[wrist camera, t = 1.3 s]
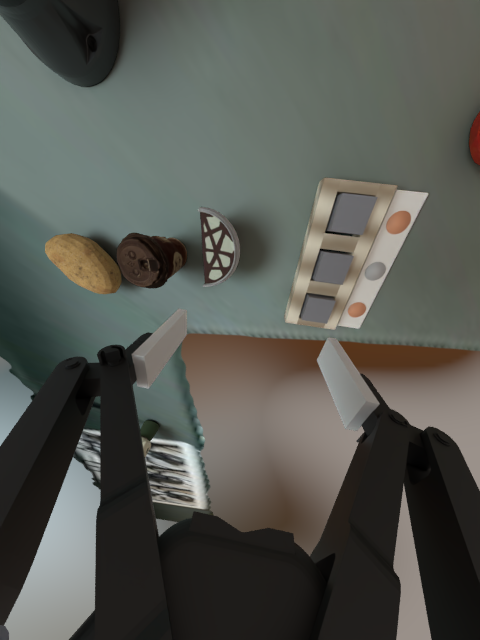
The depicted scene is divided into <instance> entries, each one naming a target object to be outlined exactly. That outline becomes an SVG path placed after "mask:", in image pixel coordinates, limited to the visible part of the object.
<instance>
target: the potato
mask: <svg viewBox="0 0 480 640" xmlns="http://www.w3.org/2000/svg"><path fill="white" fill-rule="evenodd" d="M45 252H46V254H47V256H48V257H49V259H50V260H51V261H52V262H53V263H54V264H55V265H56V266H57V267H58V268H59V269H60V270H61V271H62V272H63V273H64V274H65V275H66V276H67V277H68V278H69V279H70V280H72V281H73V282H75V283H76V284H78V285H79V286H82V287H84V288H86V289H88V290H90V291H92V292H95V293H99V294H109V293H115V292H116V291H117V290H118V289H119V287H120V284H121V271H120V269H119V267H118V265H117V264H116V263H115V261H114V260H113V259H112V258H111V257H110V256H109V255H108V254H107V253H106V252H105V251H104V250H103V249H102V248H101V247H100V246H99V245H98V244H97V243H96V242H94V241H92V240H91V239H89V238H86V237H83V236H80V235H76V234H72V233H71V234H63V235H56V236H54V237H53V238H52V239H50V240H49V241H48V242H47V243H46V246H45Z"/></svg>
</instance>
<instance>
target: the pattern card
mask: <svg viewBox="0 0 480 640" xmlns="http://www.w3.org/2000/svg"><path fill="white" fill-rule="evenodd" d="M428 194H429V193H422V192H413V191H404V190H395V193H394V195H393V197H392V200H391V202H390V204H389V207H388V209H387V211H386V213H385V216H384V218H383V220H382V223H381V225H380V227H379V230H378V232H377V234H376V236H375V239H374V241H373V243H372V246H371V248H370V250H369V253H368V255H367V257H366V259H365V262H364V264H363V266H362V269H361V271H360V273H359V276H358V278H357V280H356V282H355V285H354V287H353V289H352V292H351V294H350V296H349V298H348V301H347V303H346V305H345V308H344V310H343V312H342V315H341V317H340V319H339V321H338V324H337V325H338V326H344V327H351V328H358V329H359V328H360V326H361V324H362V322H363V320H364V319H365V317H366V315H367V313H368V311H369V309H370V307H371V305H372V303H373V301H374V299H375V297H376V295H377V293H378V291H379V289H380V287H381V285H382V283H383V281H384V279H385V278H386V276H387V274H388V272H389V270H390V268H391V266H392V264H393V262H394V260H395V258H396V256H397V254H398V252H399V250H400V248H401V246H402V244H403V242H404V240H405V238H406V237H407V235H408V233H409V231H410V229H411V227H412V225H413V223H414V221H415V219H416V217H417V215H418V213H419V211H420V209H421V207H422V205H423V203H424V201H425V199H426V197H427V196H428Z"/></svg>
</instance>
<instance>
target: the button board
mask: <svg viewBox="0 0 480 640" xmlns="http://www.w3.org/2000/svg"><path fill="white" fill-rule="evenodd" d="M396 188H397V186H396V185H387V184H378V183H369V182H360V181H351V180H342V179H333V178H324V179H322V180H321V181H320V182H319V185H318V189H317V192H316V196H315V200H314V204H313V208H312V212H311V215H310V219H309V223H308V227H307V231H306V235H305V238H304V242H303V246H302V250H301V254H300V258H299V262H298V265H297V269H296V273H295V277H294V281H293V285H292V288H291V292H290V296H289V300H288V304H287V308H286V311H285V315H284V318H285V322H286V323H293V324H300V325H306V326H313V327H320V328H326V329H333V330H335V328H336V326H337V324H338V321H339V319H340V317H341V315H342V312H343V310H344V308H345V305H346V303H347V301H348V298H349V296H350V294H351V292H352V289H353V287H354V285H355V282H356V280H357V278H358V276H359V273H360V271H361V269H362V266H363V264H364V262H365V259H366V257H367V255H368V253H369V250H370V248H371V246H372V243H373V241H374V239H375V236H376V234H377V232H378V230H379V227H380V225H381V223H382V220H383V218H384V216H385V213H386V211H387V209H388V207H389V204H390V202H391V200H392V197H393V195H394V193H395V190H396ZM342 193H347V194H356V195H365V196H373V197H378V198H377V200H376V203H375V205H374V208H373V210H372V213H371V215H370V218H369V220H368V223H367V225H366V228H365V230H364V233H363V235H356V234H353V235H352V237H351V236H343V235H335V234H327V233H325V230H326V227H327V224H328V220H329V217H330V214H331V211H332V207H333V204H334V201H335V198H336V195H339V194H342ZM320 248H321V249H328V250H336V251H344V252H346V254H349V255H353V256H354V257H353V260H352V262H351V265H350V267H349V270H348V272H347V275H346V277H345V280H344V282H343V285H340V284H333V283H325V282H318V281H314V280H313V279H312V278H311V276H312V273H313V269H314V266H315V263H316V260H317V256H318V253H319V250H320ZM306 293H313V294H320V295H327V296H331V297H332V298H333V299H334V300H335V301H336V302H335V305H334V307H333V310H332V312H331V315H330V317H329V320H328V322H327V324H325V323H318V322H312V321H305V320H302V318H301V316H300V312H301V309H302V305H303V302H304V299H305V295H306Z"/></svg>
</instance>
